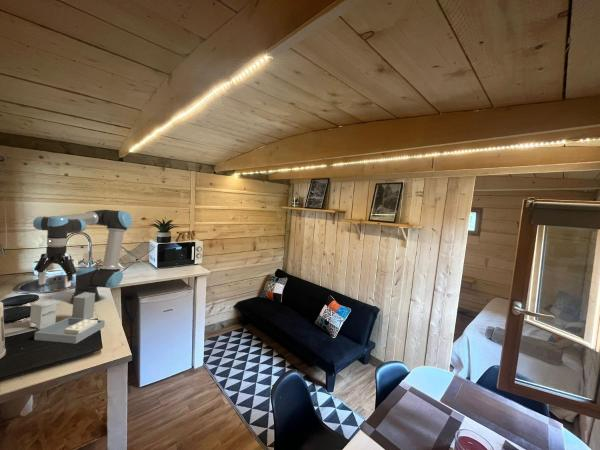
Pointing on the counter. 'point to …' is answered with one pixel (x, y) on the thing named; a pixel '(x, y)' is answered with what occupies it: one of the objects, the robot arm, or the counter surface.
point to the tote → (57, 334)
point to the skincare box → (83, 305)
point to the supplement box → (43, 313)
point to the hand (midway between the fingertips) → (54, 285)
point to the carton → (80, 326)
